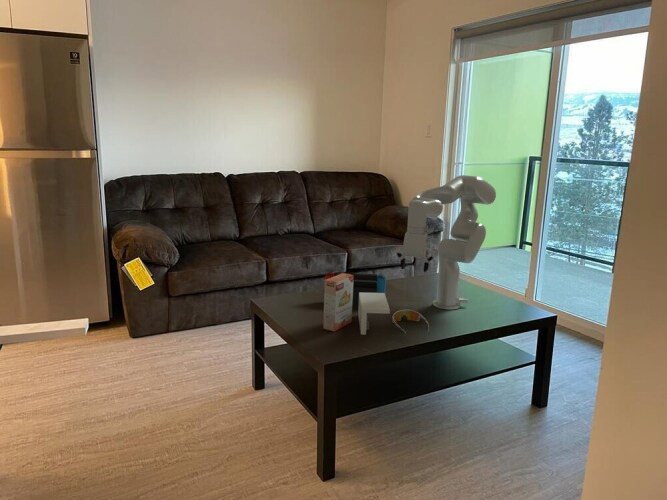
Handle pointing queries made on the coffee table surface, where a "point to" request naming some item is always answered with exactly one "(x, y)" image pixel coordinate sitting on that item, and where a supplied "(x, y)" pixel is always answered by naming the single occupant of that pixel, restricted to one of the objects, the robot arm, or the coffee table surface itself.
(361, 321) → the overhang dock
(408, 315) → the sunglasses
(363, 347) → the coffee table surface
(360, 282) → the game console
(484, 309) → the coffee table surface
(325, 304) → the cracker box
